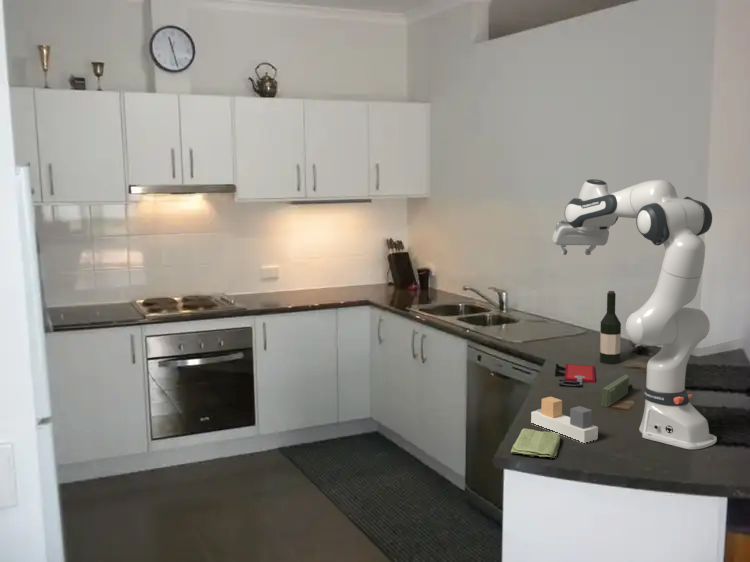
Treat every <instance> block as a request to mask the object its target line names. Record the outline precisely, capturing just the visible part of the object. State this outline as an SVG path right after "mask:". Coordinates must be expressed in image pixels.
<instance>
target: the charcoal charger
mask: <svg viewBox="0 0 750 562" xmlns="http://www.w3.org/2000/svg"><path fill="white" fill-rule="evenodd" d="M569 411H570V413H569V415H570V416H569V417H570V424H571V425H574V426H577V427H579V428H582V429H584V428H587V427H590V426H592V425H593V421H592V420H593V410H592V409H590V408H586V407H584V406H581V405H578V406H574V407H571V408H570V409H569Z"/></svg>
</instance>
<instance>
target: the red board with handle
mask: <svg viewBox="0 0 750 562" xmlns="http://www.w3.org/2000/svg"><path fill="white" fill-rule="evenodd" d="M559 370H561V371H559ZM564 370H565V371H564ZM562 371H564V372H562ZM554 372H555V373H554V376H555V377H558V375H560V376H561V377H562V376H563V377H564V379H559V380H558V385H562V386H573V387H583V383H587V384H588V383H592V384H595V383H596V375H595V372H596V371H595V365H587V364H573V363H572V364H571V363H566V364H565V367H564V366H560V365H559V363H556V364H555V370H554Z"/></svg>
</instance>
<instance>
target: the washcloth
mask: <svg viewBox="0 0 750 562" xmlns="http://www.w3.org/2000/svg"><path fill="white" fill-rule="evenodd" d="M560 442H561V435H560V434H559V433H555V432H552V431H546V430H545V431H540V430H536V429H530V428H522V429H521V431H520V433H519V434H518V437H517V438H516V440H515V443H513V445H512V447H511V450H510V453H511V454H512V453H517V454H523V455H522V456H524V455H530V456H529V457H534V456H539V458H545V457H552V456H553V457H555V456H556V457H557V455H558V451H559V448H560ZM557 449H558V450H557ZM556 457H555V458H556Z"/></svg>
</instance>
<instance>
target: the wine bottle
mask: <svg viewBox="0 0 750 562" xmlns="http://www.w3.org/2000/svg"><path fill="white" fill-rule="evenodd" d="M621 329H622V324H621V322H620V319H619V318H618V316H617V315H616V292H615V291H614V290H608V292H607V293H606V313H605V314H604V316H603V318H602V320H600V331H599V333H600V339H599V342H600V343H599V361H600V364H601V363H602V364H605V365H618V364H620V362H621V339H622V338H621V334H622V333H621Z"/></svg>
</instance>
